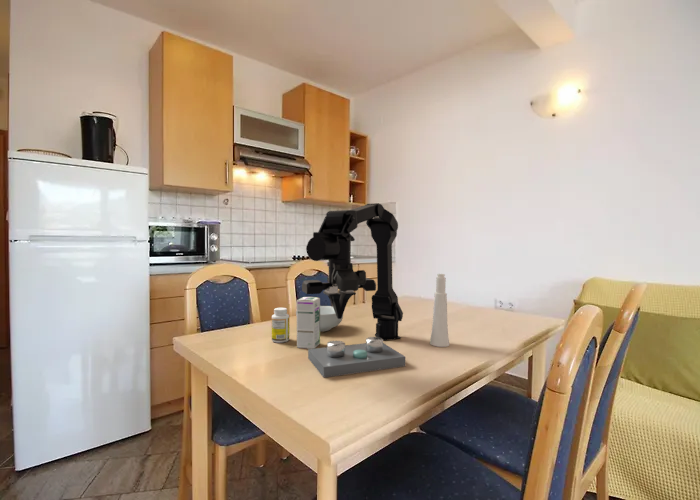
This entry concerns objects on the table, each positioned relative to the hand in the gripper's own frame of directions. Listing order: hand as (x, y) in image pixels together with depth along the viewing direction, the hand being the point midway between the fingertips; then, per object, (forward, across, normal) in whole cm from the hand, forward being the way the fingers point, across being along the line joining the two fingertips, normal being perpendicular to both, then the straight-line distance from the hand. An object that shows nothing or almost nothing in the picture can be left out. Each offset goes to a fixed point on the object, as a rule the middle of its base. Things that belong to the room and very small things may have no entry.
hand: (339, 318), depth 92 cm
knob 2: (+13, +10, -1) cm, 16 cm away
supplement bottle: (+12, -11, +25) cm, 30 cm away
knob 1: (+13, -1, -1) cm, 13 cm away
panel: (+12, +4, -1) cm, 13 cm away
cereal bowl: (+12, +5, +35) cm, 38 cm away
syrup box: (+12, -4, +17) cm, 21 cm away
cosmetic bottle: (+12, +35, +5) cm, 38 cm away
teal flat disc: (+9, +4, -4) cm, 11 cm away
